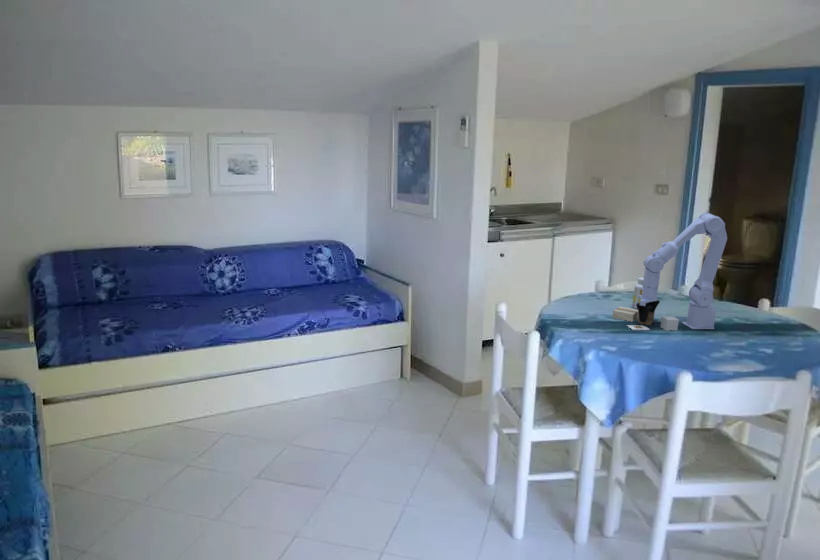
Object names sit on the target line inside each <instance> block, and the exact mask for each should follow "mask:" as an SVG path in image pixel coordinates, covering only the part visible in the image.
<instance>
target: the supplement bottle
mask: <svg viewBox="0 0 820 560" xmlns="http://www.w3.org/2000/svg"><path fill="white" fill-rule="evenodd" d="M643 280H644V277H638V278H637V283H636V284H635V285H634V287H633V289H634V290H633V296H632V305H631V306H632V309H636V310H638V309H637V306H636V304H637V303H640V300H641V298H639V297H638V296H639V295H642V288H643Z"/></svg>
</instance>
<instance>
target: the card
mask: <svg viewBox="0 0 820 560" xmlns="http://www.w3.org/2000/svg"><path fill="white" fill-rule="evenodd" d="M627 326H628V327H627ZM626 327H627V328H629V329H630V328H631V329H632V331H650V328H648V327H647V325H643V324H639V325H638V324H635V325H634V324H630V325H626ZM631 329H630V330H631Z"/></svg>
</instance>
